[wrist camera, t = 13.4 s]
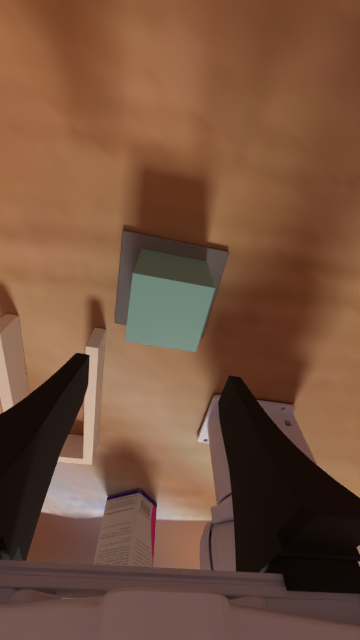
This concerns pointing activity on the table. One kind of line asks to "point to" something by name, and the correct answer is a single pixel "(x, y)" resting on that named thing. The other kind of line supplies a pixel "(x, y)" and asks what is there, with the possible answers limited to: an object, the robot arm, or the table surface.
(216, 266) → the mat
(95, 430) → the frame
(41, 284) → the table surface
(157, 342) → the block
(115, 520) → the supplement box
